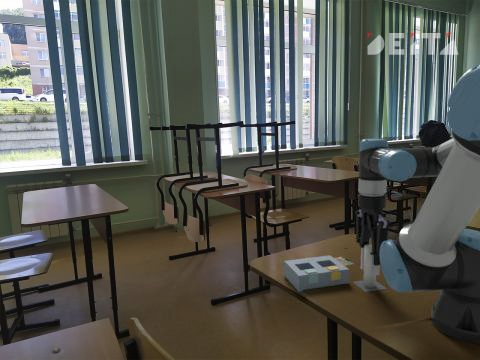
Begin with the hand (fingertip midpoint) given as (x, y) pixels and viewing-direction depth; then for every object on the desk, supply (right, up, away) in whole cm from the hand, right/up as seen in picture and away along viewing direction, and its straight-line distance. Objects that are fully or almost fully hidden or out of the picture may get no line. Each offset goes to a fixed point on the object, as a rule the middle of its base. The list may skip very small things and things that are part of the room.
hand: (369, 271), depth 111 cm
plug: (0, -4, +1) cm, 4 cm away
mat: (0, -5, +1) cm, 5 cm away
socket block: (-15, -4, +6) cm, 17 cm away
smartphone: (-8, -3, +18) cm, 20 cm away
